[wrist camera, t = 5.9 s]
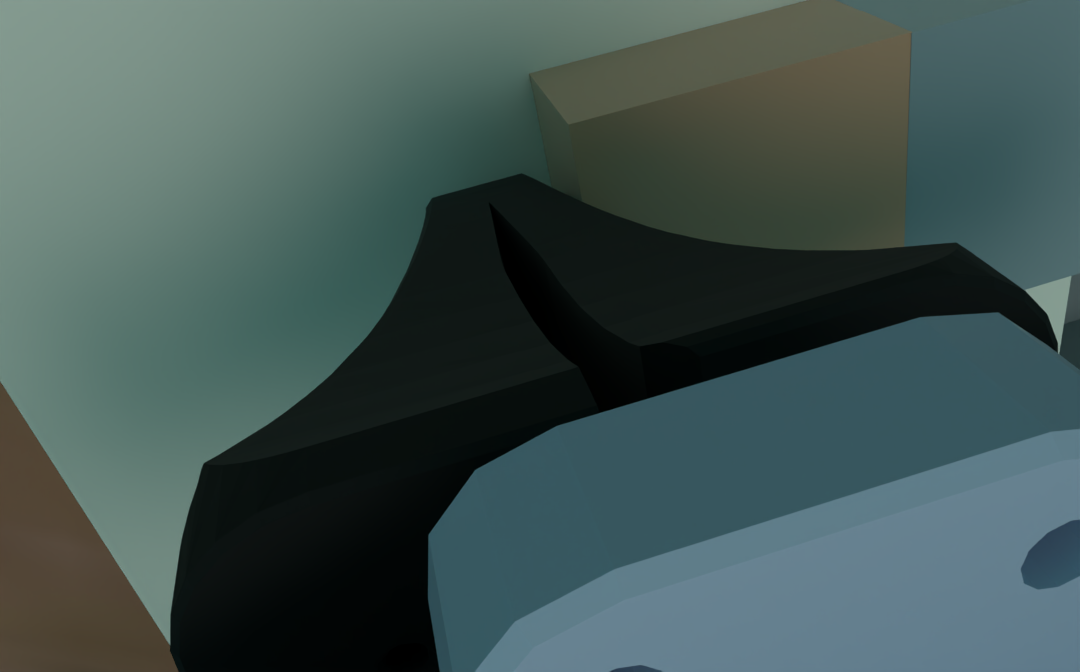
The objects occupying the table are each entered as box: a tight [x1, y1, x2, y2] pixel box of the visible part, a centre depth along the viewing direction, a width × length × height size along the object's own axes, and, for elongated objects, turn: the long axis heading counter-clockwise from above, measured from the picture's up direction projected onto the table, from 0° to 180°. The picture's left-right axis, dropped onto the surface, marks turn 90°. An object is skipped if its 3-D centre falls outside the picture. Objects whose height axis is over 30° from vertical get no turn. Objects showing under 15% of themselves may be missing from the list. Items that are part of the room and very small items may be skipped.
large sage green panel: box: [0, 0, 1071, 644], centre depth 14 cm, size 14×16×3 cm
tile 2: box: [836, 0, 1080, 290], centre depth 12 cm, size 4×4×2 cm
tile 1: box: [529, 0, 912, 250], centre depth 12 cm, size 4×4×2 cm
